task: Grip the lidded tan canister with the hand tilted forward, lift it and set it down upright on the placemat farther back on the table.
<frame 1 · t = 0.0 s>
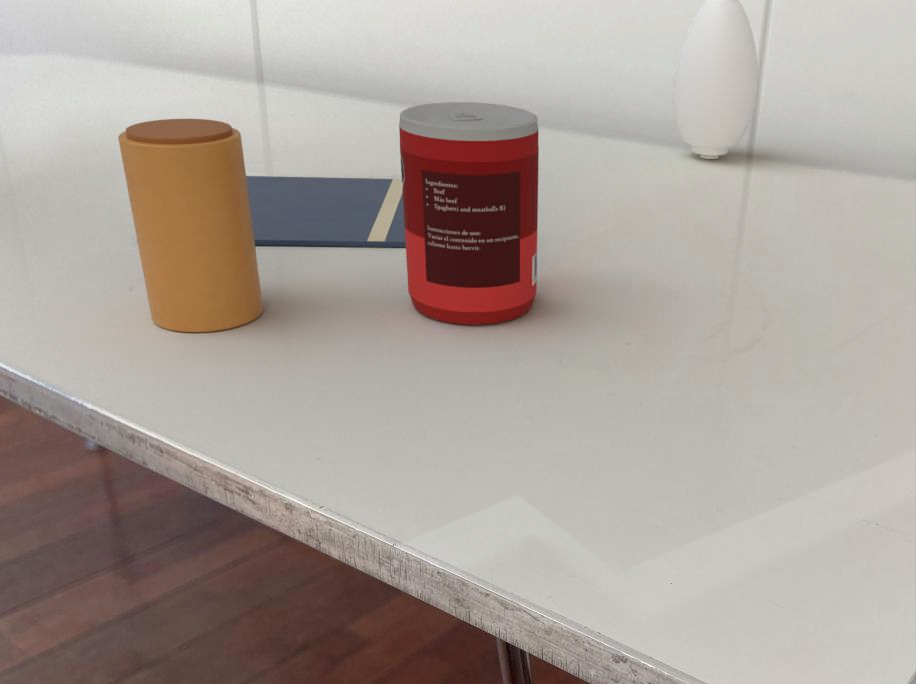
white tall oval piece: (708, 159, 99), on the table
canned food: (473, 306, 60), on the table
lidded tan canister: (208, 313, 57), on the table
placemat: (297, 210, 76), on the table
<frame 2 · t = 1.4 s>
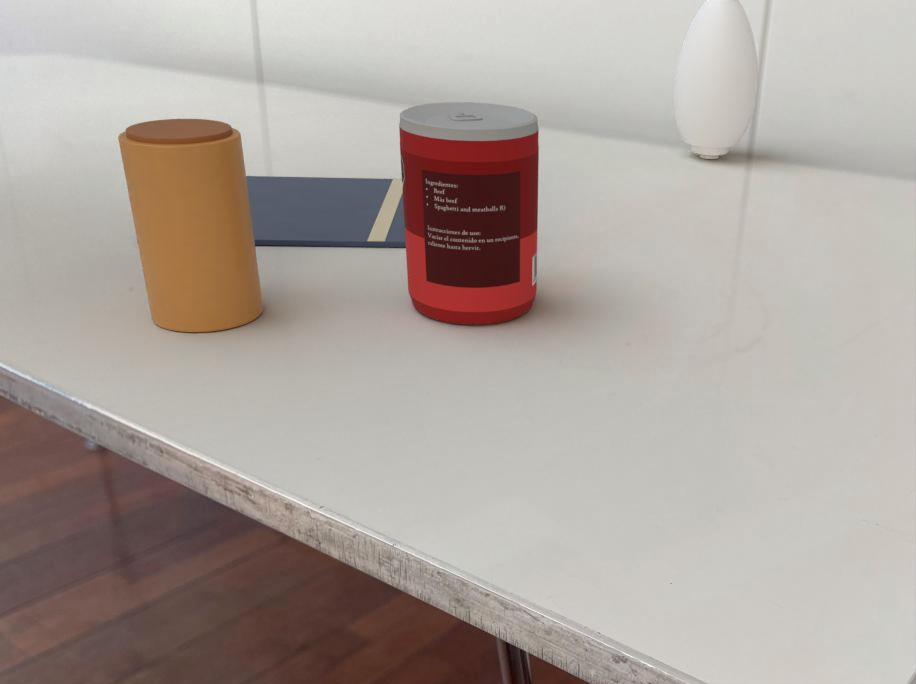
nothing on the table moved.
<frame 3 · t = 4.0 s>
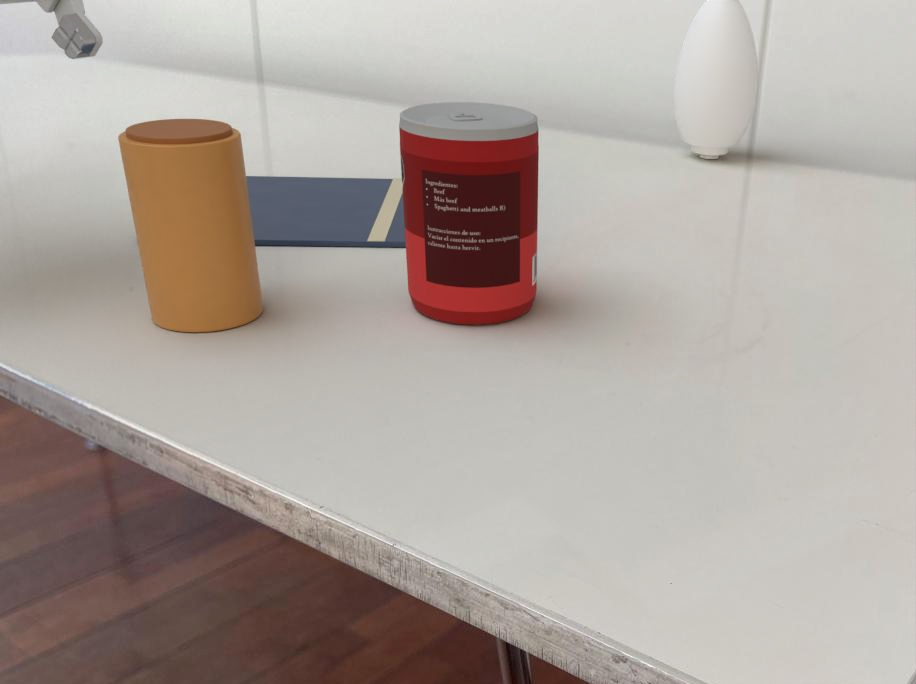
hand: (18, 60, 53), 13 cm above the table, tool tilted 45°, fingers open, 8 cm apart
nothing on the table moved.
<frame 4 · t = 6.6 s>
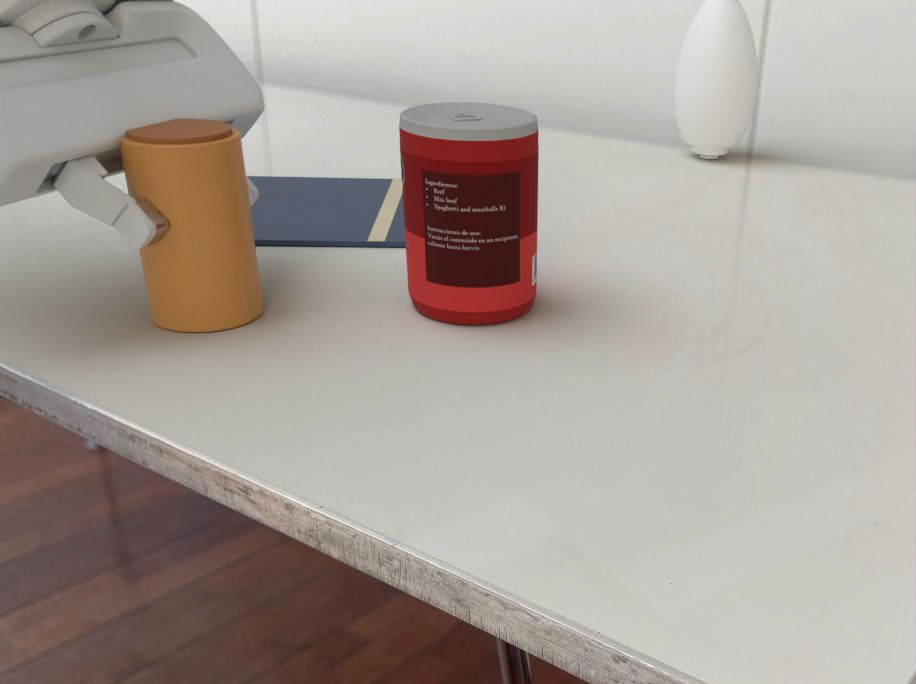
hand: (203, 221, 54), 5 cm above the table, tool tilted 45°, fingers closed on lidded tan canister, 6 cm apart
lidded tan canister: (208, 313, 57), on the table, touching gripper
everything else where it was.
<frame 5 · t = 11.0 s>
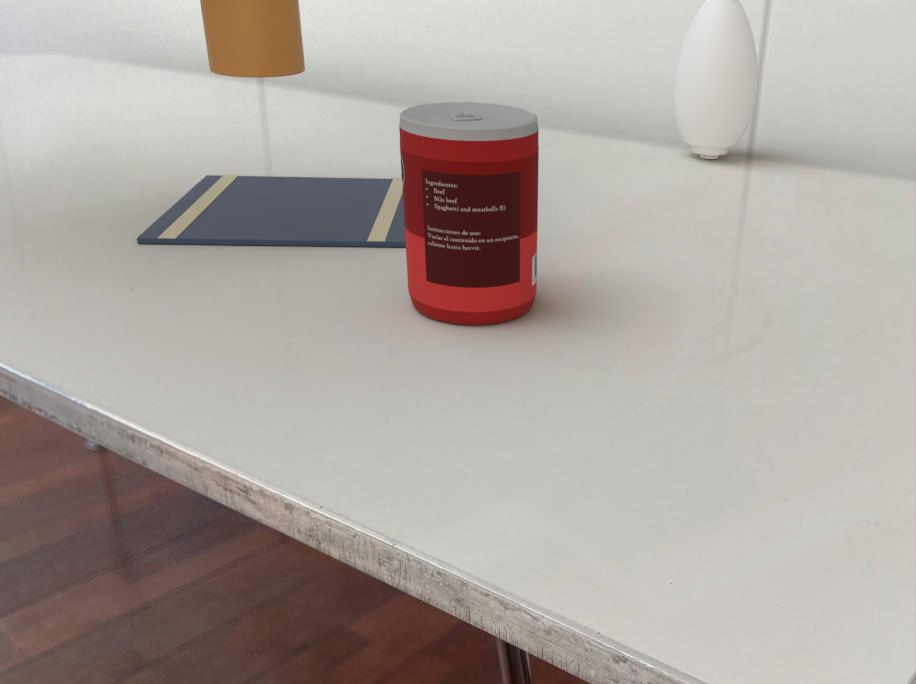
lidded tan canister: (258, 70, 66), point 11 cm above the table, touching gripper
everything else where it was.
when the fingers open (6 cm above the table, at t = 15.3 s): lidded tan canister stays where it is, resting on placemat.
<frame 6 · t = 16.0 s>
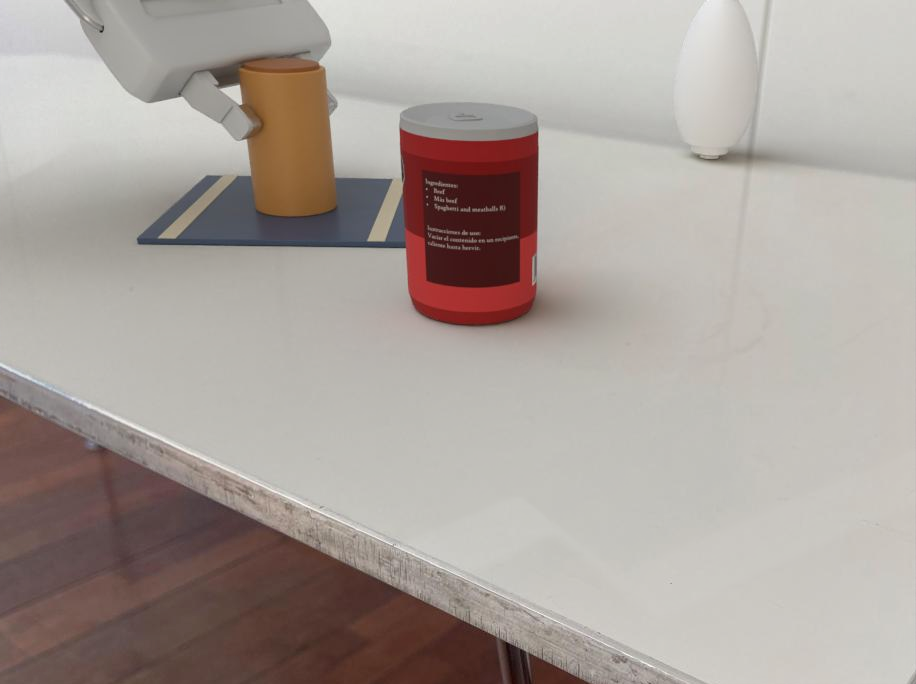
hand: (292, 122, 73), 7 cm above the table, tool tilted 45°, fingers open, 8 cm apart
lidded tan canister: (296, 206, 76), resting on placemat
everything else where it was.
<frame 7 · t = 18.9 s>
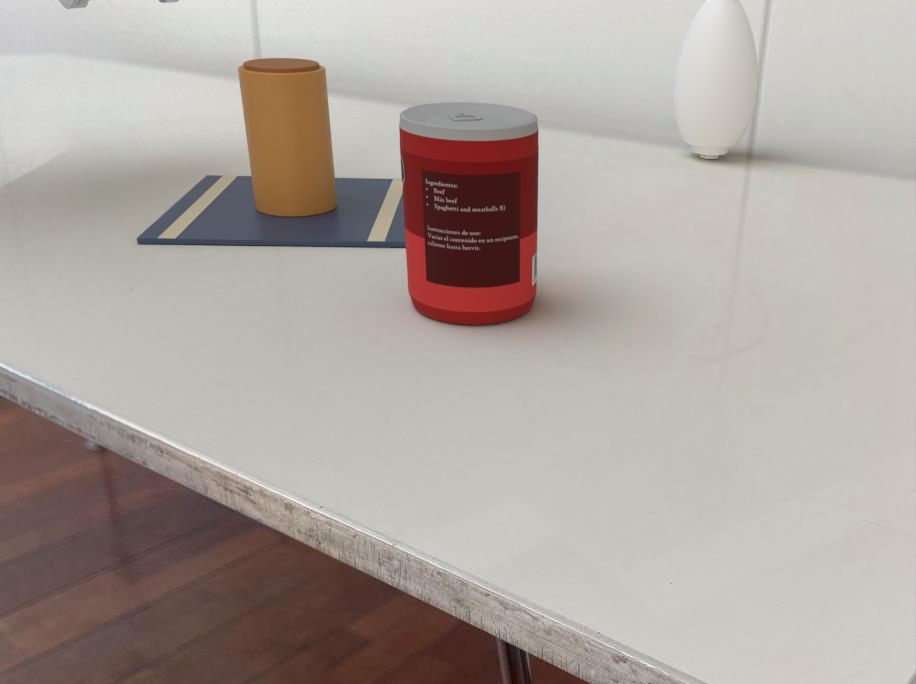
nothing on the table moved.
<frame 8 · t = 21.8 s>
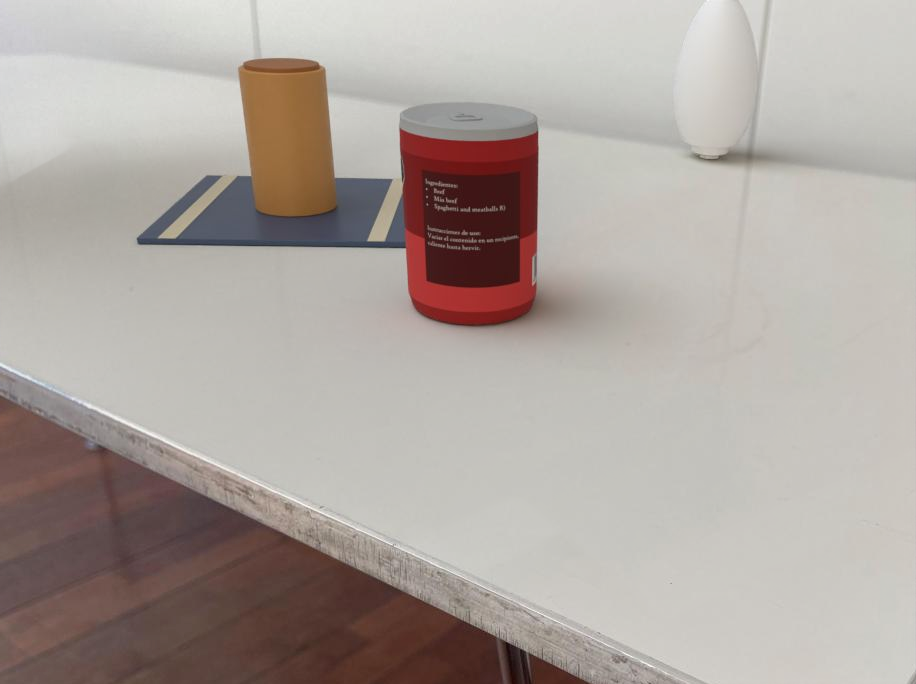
nothing on the table moved.
at the end: lidded tan canister inside the target area on the placemat (0.3 cm from its centre), point 0.4 cm above the placemat's base; lidded tan canister tilted 0°; the gripper is holding nothing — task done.
